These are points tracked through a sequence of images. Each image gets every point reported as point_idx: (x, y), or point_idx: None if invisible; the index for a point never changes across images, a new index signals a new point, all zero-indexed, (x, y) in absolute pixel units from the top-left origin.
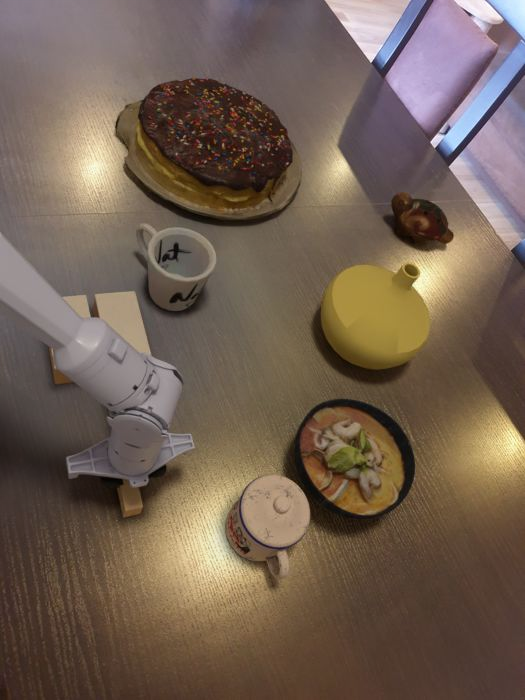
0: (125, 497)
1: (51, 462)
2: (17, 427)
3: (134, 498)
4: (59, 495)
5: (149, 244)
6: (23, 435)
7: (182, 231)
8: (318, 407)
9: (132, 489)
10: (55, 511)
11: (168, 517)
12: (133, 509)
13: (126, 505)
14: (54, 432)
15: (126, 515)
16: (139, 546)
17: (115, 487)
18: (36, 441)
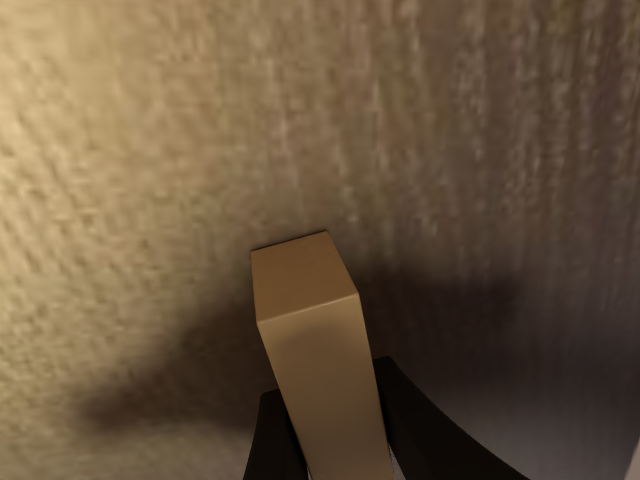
0: (356, 355)
1: (551, 383)
2: (612, 446)
3: (308, 357)
4: (550, 293)
5: None
6: (604, 432)
7: None
8: None
9: (319, 394)
10: (575, 240)
11: (102, 242)
12: (310, 301)
13: (352, 320)
14: (526, 454)
15: (320, 247)
16: (240, 93)
17: (404, 391)
18: (577, 425)
